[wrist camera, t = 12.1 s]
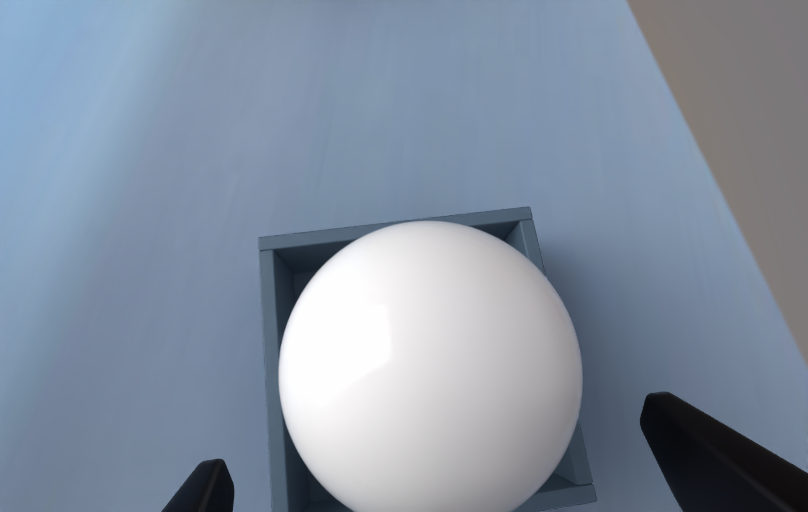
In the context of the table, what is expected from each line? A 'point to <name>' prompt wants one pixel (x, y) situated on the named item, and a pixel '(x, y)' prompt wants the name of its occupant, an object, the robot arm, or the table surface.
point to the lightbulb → (430, 372)
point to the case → (280, 289)
